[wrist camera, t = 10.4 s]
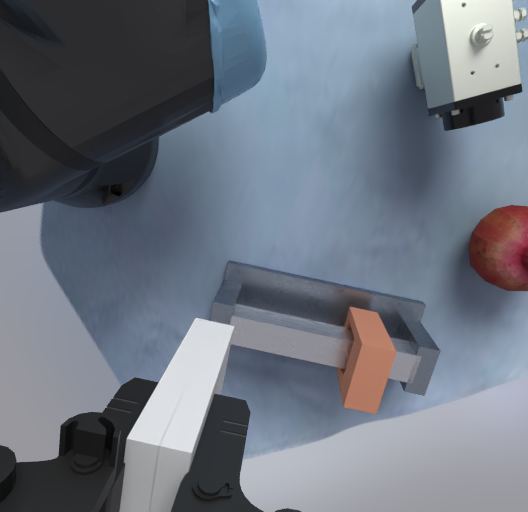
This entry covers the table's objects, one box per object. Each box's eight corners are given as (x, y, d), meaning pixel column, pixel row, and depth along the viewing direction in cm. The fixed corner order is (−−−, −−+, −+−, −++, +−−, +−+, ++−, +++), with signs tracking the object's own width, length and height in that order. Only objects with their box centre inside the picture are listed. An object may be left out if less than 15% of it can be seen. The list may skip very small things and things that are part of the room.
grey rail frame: (216, 332, 48) (201, 365, 41) (229, 260, 45) (216, 282, 38) (399, 371, 47) (418, 413, 40) (422, 301, 45) (447, 332, 38)
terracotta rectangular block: (334, 359, 45) (343, 406, 37) (349, 306, 43) (362, 344, 35) (361, 365, 45) (376, 414, 36) (377, 312, 43) (396, 351, 35)
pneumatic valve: (416, 133, 40) (464, 129, 29) (394, 6, 38) (438, -55, 26) (473, 118, 40) (546, 107, 28) (456, -13, 37) (529, -84, 25)
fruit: (438, 241, 43) (479, 270, 34) (497, 183, 41) (559, 195, 32) (491, 289, 44) (545, 329, 34) (551, 234, 42) (628, 261, 32)
